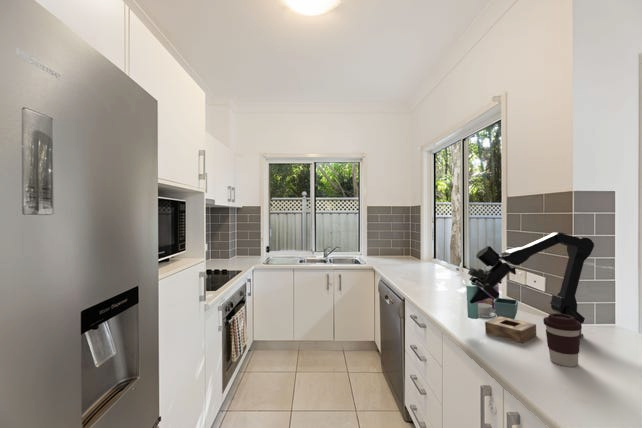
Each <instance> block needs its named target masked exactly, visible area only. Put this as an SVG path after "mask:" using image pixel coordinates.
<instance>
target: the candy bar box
mask: <svg viewBox="0 0 642 428" xmlns="http://www.w3.org/2000/svg"><path fill="white" fill-rule="evenodd" d="M499 287H500V286H499V283H498V284H497V285H496V286H495V287H494V289H495V290H496V291H498V292H499V293H500V291H499V290H500V289H499ZM490 297H491V298H488V299H485V300H481V301H478V303H485V304H490V305H492V309H495V306H494V301H495V300H496V299H494V298H493V297H492V296H491V295H490ZM498 298H500V296H499V297H498Z"/></svg>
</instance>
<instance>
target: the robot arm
mask: <svg viewBox="0 0 642 428" xmlns="http://www.w3.org/2000/svg"><path fill="white" fill-rule="evenodd" d="M558 244H560V245H563V246H566V252H567V255H568V260H567V263H566V267H565V271H564V274H563V275H564V276H563V279H562V282H561V287H560V291H559V292H558V294H554V293H553V294H552V295H551V301H550V302H549V304H550V306H551V307H550V308H551V310H552V311H553V312H554V313H559V314H566V315H570V316H573V317H574V318H575V319H576V321H578V322H580V323H581V324H584V321H585V319H586V318H585V317H584V316H583V315H582V314H581V313H580V312H578V303H577V298H576V294H577V291H578V287H579V283H580V278H581V275H582V271H583V267H584V263H585V261H586V260H587V259H588V258H589V257H590V256H591V255H592V252H593V250H594V248H595V243H594V242H593V240H592V239H590V238H589V237H584V236H583V237H582V236H573V235H569V234H566V233H564V232H559V231H558V232H557V231H556V232H555V231H553V232H551V233H550V234H548V235H546V236H543V237H541V238H540V239H537V240H535V241H532V242H530V243H528V244H525V245H524V246H519V247H514V248H510V249H507V250H505V251H504V252H500V253H498V252H496V251H495V250H494V249H493V248H492V246H489V245H486V247H484V248H482V249H480V250H479V251H477V253H476V256H475V257H476V258H477V259H478V260H479V261H480V262H481V263H482V264H483V265H485V266H486V267H488V268H489V267H491V268H490V269H489V270H484V269H481V268H477V269H476V268H474V267H470V268H469V270H468V272H467V275H469V276H471V277H470V278H469V280H470V285H476V286H477V292H476V293H475V295H474V296H473V297H472V299H471V300H470V303H471V304H473V303H475V302H478V301H481V300H485V299H488V298H491V297H490V295H491V296H492V297H493V298H494V299H497V298H498V297H499V298H500V291H499V292H498V291H496V290H495V289H494V287H495V286H496V285H497V284H498V285H499V284H500V285H501V284H502V283H503V282H502V280H504V279H505V277H506V276H507V275H508V274H513V275H517V272H516V267H515V266H520V265H522V264H523V263H525V262H526V261H528V260H529V259H530V258H531V256H533V255H536V254H538V253H539V252H542V251H545V250H547V249H549V248H551V247H555V246H556V245H558ZM503 261H504V262H503ZM509 264H510V265H509ZM512 265H513V266H512ZM466 300H467V297H466ZM579 334H580V339H581V338H582V337H583V336H584V334H583V333H582V329H581V330H579Z"/></svg>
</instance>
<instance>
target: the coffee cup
mask: <svg viewBox="0 0 642 428" xmlns="http://www.w3.org/2000/svg"><path fill="white" fill-rule="evenodd" d="M543 325H545V328H546V329H545V335H546V342H547V348H548V352H549V353H548V354H549V359H550V361H551V362H553V364H557V365H559V366H563V367H569V368H570V367H571V368H574V367H578V365H579V353H580V346H581V345H580V344H581V338H580V334H579V330H581V331H582V330H583V329H582V327H583V326H582V325H583V323H580V322H578V321H576V319H575V318H574V317H573V316H570V315H566V314H559V313H555V312H554V313H553V312H552V313H549V315H548V316H546V317H545V316H544V318H543Z"/></svg>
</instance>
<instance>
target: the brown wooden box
mask: <svg viewBox="0 0 642 428" xmlns="http://www.w3.org/2000/svg"><path fill="white" fill-rule="evenodd" d="M484 331H485V334H489V335H492V336H496V337H499V338H502V339H506V340H510V341H513V342H517V343H521V344H523V343H524V344H525V342H527V341H529V340H531V339H533V338H535V337H537V324H536V323H532V322H527V321H525V320H519V319H511V318H506V317H502V316H499V317H497V316H496V317H494V318H492V319H489V320H487V321H484Z"/></svg>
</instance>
